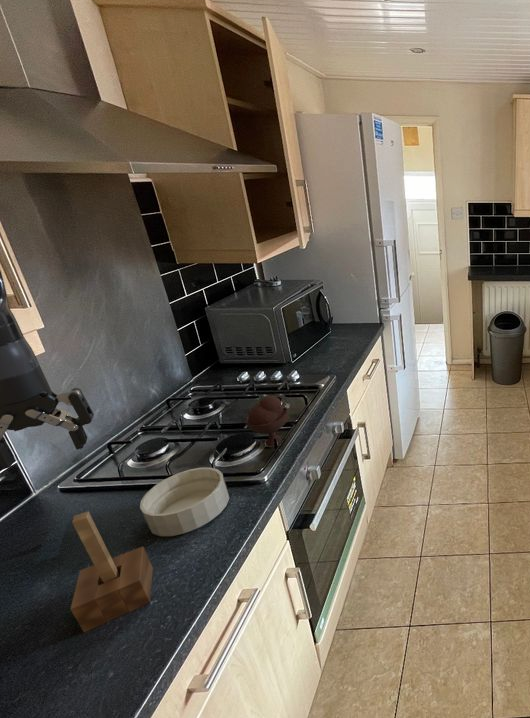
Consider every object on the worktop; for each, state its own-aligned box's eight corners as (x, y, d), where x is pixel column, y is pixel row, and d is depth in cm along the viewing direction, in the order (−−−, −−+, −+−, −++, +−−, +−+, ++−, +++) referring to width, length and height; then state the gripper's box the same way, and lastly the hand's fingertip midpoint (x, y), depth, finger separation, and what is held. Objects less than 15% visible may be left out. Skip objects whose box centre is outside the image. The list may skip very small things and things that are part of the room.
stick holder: (83, 632, 72) (70, 609, 70) (92, 592, 79) (79, 570, 76) (150, 602, 77) (139, 580, 75) (153, 567, 84) (143, 545, 81)
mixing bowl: (147, 550, 87) (137, 527, 85) (151, 506, 99) (142, 484, 96) (232, 517, 96) (225, 495, 93) (227, 479, 107) (220, 459, 105)
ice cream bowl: (278, 427, 128) (268, 385, 123) (302, 438, 123) (292, 394, 118) (244, 446, 120) (231, 401, 114) (268, 458, 115) (256, 412, 109)
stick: (114, 604, 77) (71, 522, 69) (115, 596, 78) (73, 515, 70) (127, 598, 78) (86, 517, 70) (128, 591, 79) (88, 510, 71)
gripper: (71, 350, 70) (106, 431, 76) (-60, 372, 63) (-10, 460, 69) (62, 366, 65) (99, 452, 71) (-84, 393, 57) (-28, 486, 63)
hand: (45, 456), depth 70 cm, fingers open, 8 cm apart
